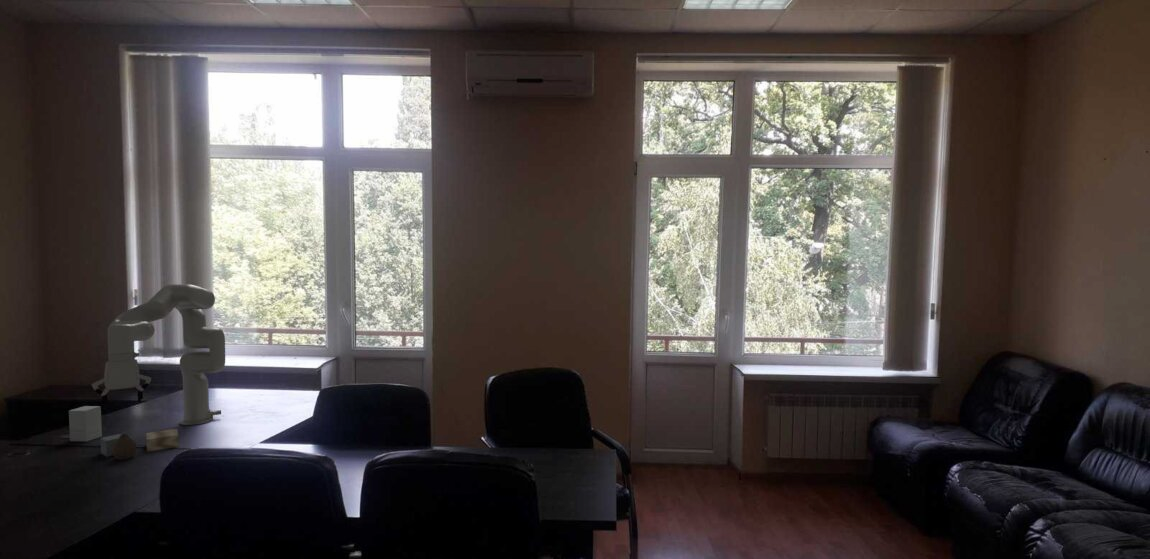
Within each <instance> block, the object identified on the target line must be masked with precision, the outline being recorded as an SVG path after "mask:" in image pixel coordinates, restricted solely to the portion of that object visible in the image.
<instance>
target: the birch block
mask: <svg viewBox="0 0 1150 559" xmlns="http://www.w3.org/2000/svg"><path fill="white" fill-rule="evenodd" d="M145 435H146V441H145V442H146V452H147V453H149V452H154V451H161V450H167V449H172V448H173V447H174V448H178V446H179V432H178V428H171V429H166V430H165V429H164V430H160V431H159V430H158V431H152V432H146V433H145Z"/></svg>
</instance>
